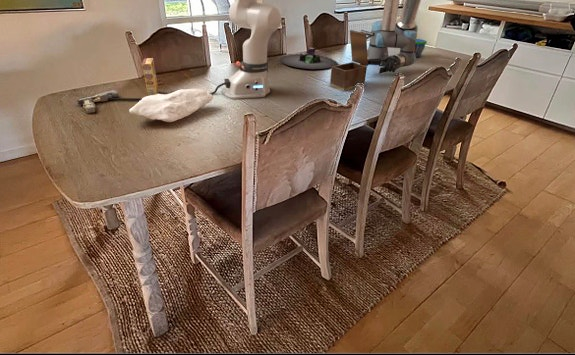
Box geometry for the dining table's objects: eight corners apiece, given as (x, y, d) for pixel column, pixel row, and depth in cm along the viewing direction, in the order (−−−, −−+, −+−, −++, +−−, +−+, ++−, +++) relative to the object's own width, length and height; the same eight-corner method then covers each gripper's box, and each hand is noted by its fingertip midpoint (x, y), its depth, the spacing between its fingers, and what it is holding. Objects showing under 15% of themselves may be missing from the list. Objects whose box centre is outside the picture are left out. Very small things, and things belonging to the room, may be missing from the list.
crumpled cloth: (117, 110, 146) (113, 90, 140) (195, 92, 166) (194, 73, 160) (143, 139, 134) (140, 118, 128) (223, 116, 154) (224, 96, 148)
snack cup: (416, 52, 253) (419, 37, 248) (428, 56, 246) (432, 40, 240) (401, 55, 246) (404, 39, 240) (413, 59, 238) (416, 43, 233)
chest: (343, 91, 181) (346, 71, 176) (329, 85, 187) (331, 66, 182) (364, 85, 189) (367, 66, 184) (350, 80, 196) (352, 61, 191)
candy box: (157, 97, 164) (152, 63, 155) (147, 98, 163) (141, 63, 155) (158, 91, 171) (153, 57, 163) (149, 91, 170) (143, 58, 162)
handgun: (128, 97, 156) (111, 87, 164) (86, 107, 144) (70, 97, 152) (129, 103, 157) (113, 94, 165) (88, 114, 146) (72, 103, 154)
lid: (365, 34, 173) (376, 27, 176) (349, 30, 179) (360, 24, 182) (366, 65, 184) (377, 59, 187) (352, 61, 190) (362, 54, 193)
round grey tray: (348, 64, 220) (349, 48, 215) (302, 72, 202) (302, 55, 198) (313, 55, 244) (313, 41, 240) (269, 61, 227) (268, 46, 222)
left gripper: (358, -29, 156) (354, 6, 163) (388, -29, 167) (383, 4, 174) (348, -30, 160) (344, 4, 167) (377, -30, 171) (373, 2, 178)
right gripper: (411, 74, 200) (387, 80, 188) (376, 63, 216) (351, 68, 204) (414, 60, 196) (390, 66, 184) (378, 50, 212) (353, 55, 200)
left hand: (364, 4), depth 171 cm, fingers open, 8 cm apart
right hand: (370, 67), depth 194 cm, fingers open, 13 cm apart
